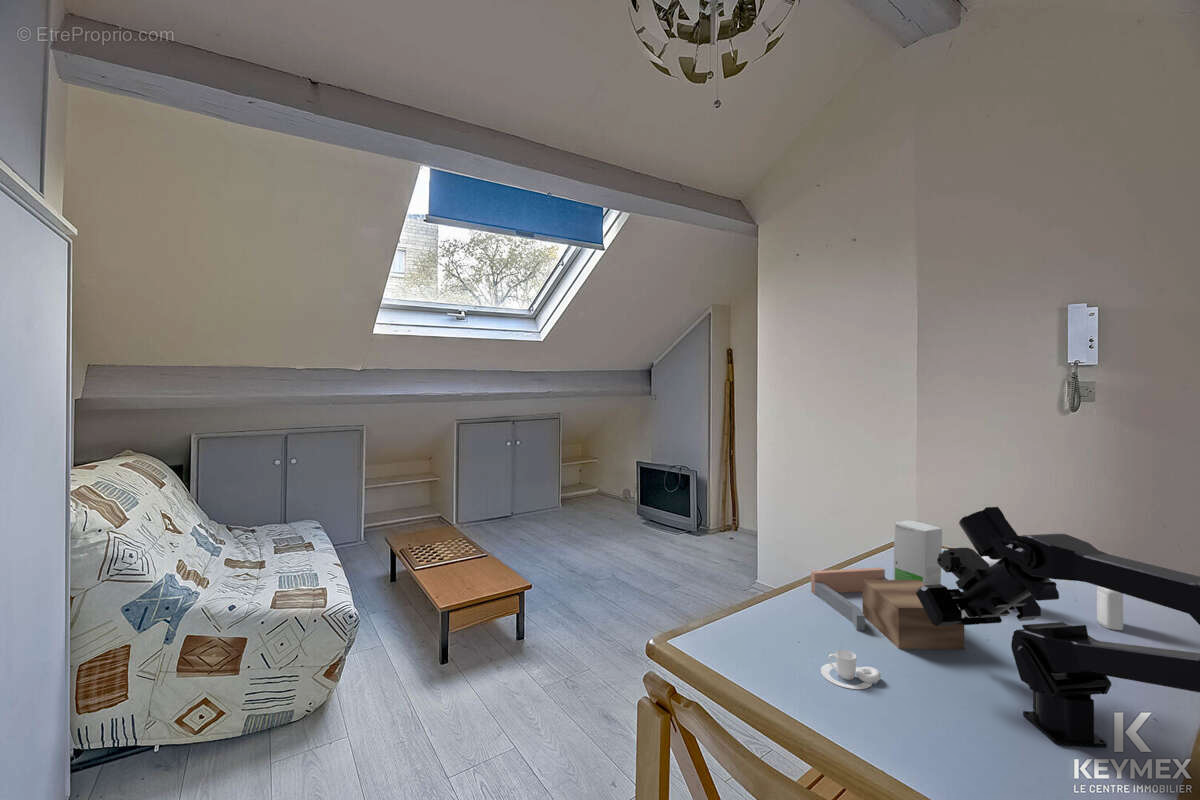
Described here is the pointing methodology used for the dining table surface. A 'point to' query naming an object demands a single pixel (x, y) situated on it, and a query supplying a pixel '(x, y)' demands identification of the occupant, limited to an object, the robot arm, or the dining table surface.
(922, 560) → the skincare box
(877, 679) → the teacup and saucer
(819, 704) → the dining table surface
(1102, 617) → the eye dropper bottle
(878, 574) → the box pocket
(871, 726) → the dining table surface
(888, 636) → the walnut box
